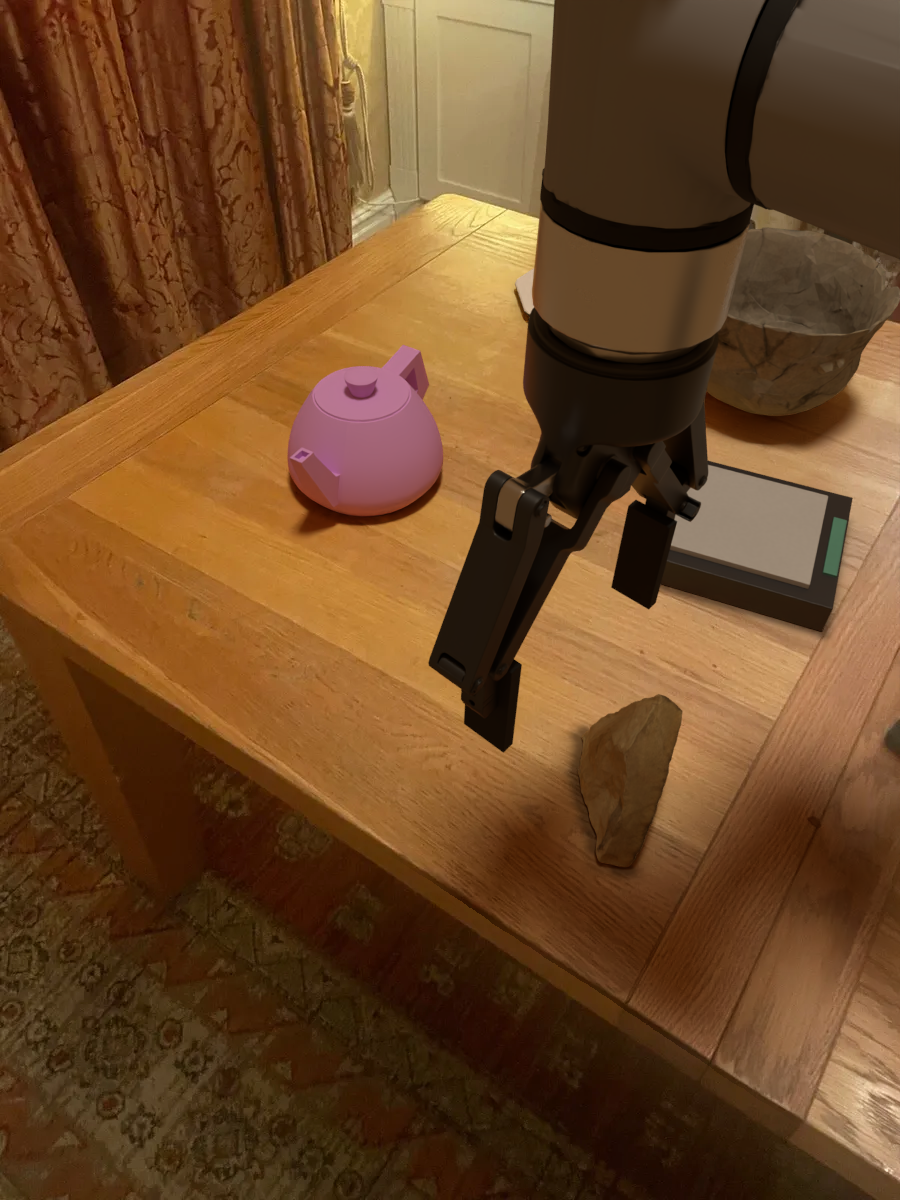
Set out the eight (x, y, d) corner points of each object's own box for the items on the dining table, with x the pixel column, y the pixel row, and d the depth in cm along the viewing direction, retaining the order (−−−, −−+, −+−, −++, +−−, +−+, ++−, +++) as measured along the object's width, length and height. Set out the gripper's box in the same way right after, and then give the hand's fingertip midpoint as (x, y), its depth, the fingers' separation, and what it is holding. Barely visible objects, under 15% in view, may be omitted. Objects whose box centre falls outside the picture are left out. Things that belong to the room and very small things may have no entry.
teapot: (359, 400, 102) (352, 301, 93) (482, 441, 97) (487, 341, 89) (239, 513, 89) (219, 410, 80) (375, 567, 84) (369, 464, 75)
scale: (842, 520, 90) (855, 492, 87) (821, 632, 79) (835, 604, 77) (683, 478, 94) (690, 450, 91) (644, 579, 84) (651, 551, 81)
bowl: (792, 482, 94) (841, 354, 83) (619, 398, 103) (641, 274, 92) (884, 394, 105) (937, 271, 94) (719, 326, 115) (750, 207, 104)
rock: (665, 889, 60) (727, 772, 65) (604, 808, 57) (673, 691, 61) (549, 857, 69) (611, 756, 73) (489, 785, 65) (558, 684, 70)
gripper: (705, 190, 44) (633, 520, 59) (325, 412, 31) (360, 760, 46) (852, 239, 40) (735, 575, 56) (495, 511, 27) (471, 851, 43)
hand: (565, 660), depth 51 cm, fingers open, 13 cm apart
